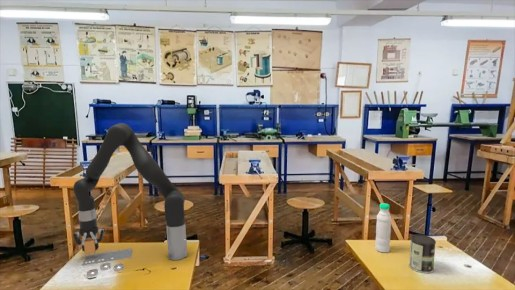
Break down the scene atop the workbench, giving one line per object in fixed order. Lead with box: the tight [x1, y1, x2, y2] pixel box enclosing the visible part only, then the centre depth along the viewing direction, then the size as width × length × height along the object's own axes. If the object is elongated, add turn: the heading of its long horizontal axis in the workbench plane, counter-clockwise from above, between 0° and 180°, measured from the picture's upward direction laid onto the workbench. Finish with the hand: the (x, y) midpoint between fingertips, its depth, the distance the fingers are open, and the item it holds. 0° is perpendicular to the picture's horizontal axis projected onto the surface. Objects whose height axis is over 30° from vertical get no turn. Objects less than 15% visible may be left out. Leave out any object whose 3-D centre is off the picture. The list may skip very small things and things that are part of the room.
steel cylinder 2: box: [100, 262, 112, 271], centre depth 146 cm, size 4×4×2 cm
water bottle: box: [374, 202, 392, 254], centre depth 161 cm, size 7×7×25 cm
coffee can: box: [408, 234, 437, 274], centre depth 144 cm, size 10×10×14 cm
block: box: [84, 238, 97, 255], centre depth 155 cm, size 4×4×6 cm
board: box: [81, 248, 133, 266], centre depth 156 cm, size 22×10×1 cm, turn 109°
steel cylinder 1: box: [86, 268, 99, 280], centre depth 141 cm, size 4×4×2 cm
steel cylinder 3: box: [113, 263, 125, 272], centre depth 145 cm, size 4×4×2 cm
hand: (90, 250), depth 155 cm, fingers closed on block, 4 cm apart
